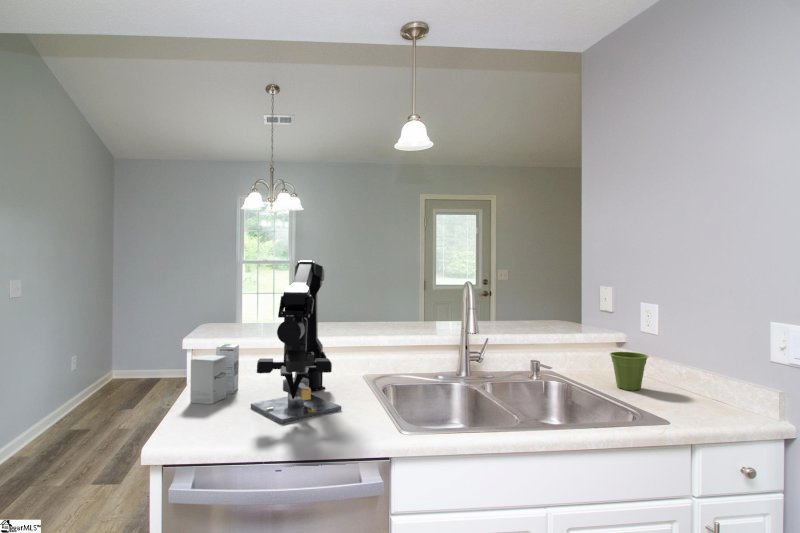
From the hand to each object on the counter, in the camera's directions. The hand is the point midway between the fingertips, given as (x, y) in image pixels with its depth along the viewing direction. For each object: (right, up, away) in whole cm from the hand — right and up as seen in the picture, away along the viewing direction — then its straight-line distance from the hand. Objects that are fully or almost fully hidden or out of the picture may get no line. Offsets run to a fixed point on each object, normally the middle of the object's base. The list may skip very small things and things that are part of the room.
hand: (293, 398), depth 127 cm
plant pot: (+104, -6, +36) cm, 110 cm away
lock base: (-1, -5, +9) cm, 10 cm away
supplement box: (-28, -5, +16) cm, 33 cm away
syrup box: (-26, -5, +26) cm, 37 cm away
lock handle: (+1, 0, +5) cm, 5 cm away
